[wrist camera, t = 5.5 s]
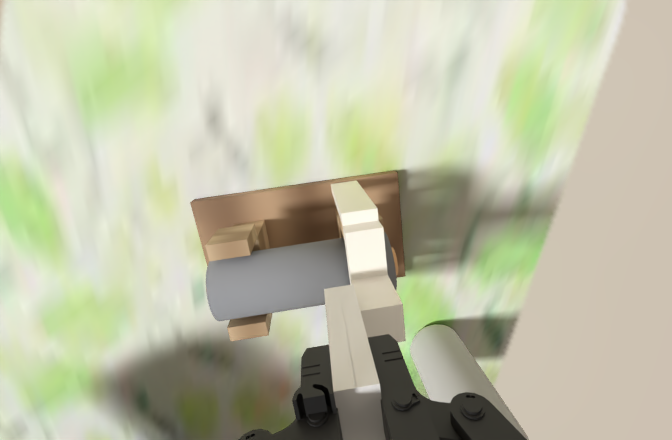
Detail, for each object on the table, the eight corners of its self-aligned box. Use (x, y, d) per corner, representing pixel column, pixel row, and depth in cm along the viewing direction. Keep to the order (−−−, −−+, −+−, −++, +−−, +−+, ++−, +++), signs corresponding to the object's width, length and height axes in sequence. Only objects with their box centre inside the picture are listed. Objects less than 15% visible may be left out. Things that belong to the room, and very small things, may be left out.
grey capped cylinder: (225, 300, 24) (210, 335, 20) (212, 248, 23) (193, 275, 19) (389, 274, 25) (405, 304, 21) (385, 222, 23) (400, 243, 20)
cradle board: (221, 299, 30) (191, 363, 22) (194, 199, 27) (149, 233, 19) (402, 270, 30) (434, 324, 23) (394, 170, 27) (428, 192, 20)
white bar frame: (344, 285, 29) (370, 403, 17) (330, 184, 26) (350, 241, 14) (368, 282, 29) (409, 397, 17) (356, 180, 26) (397, 234, 14)
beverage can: (465, 347, 33) (548, 469, 22) (422, 371, 34) (482, 503, 22) (443, 311, 32) (520, 423, 20) (399, 337, 32) (450, 460, 21)
